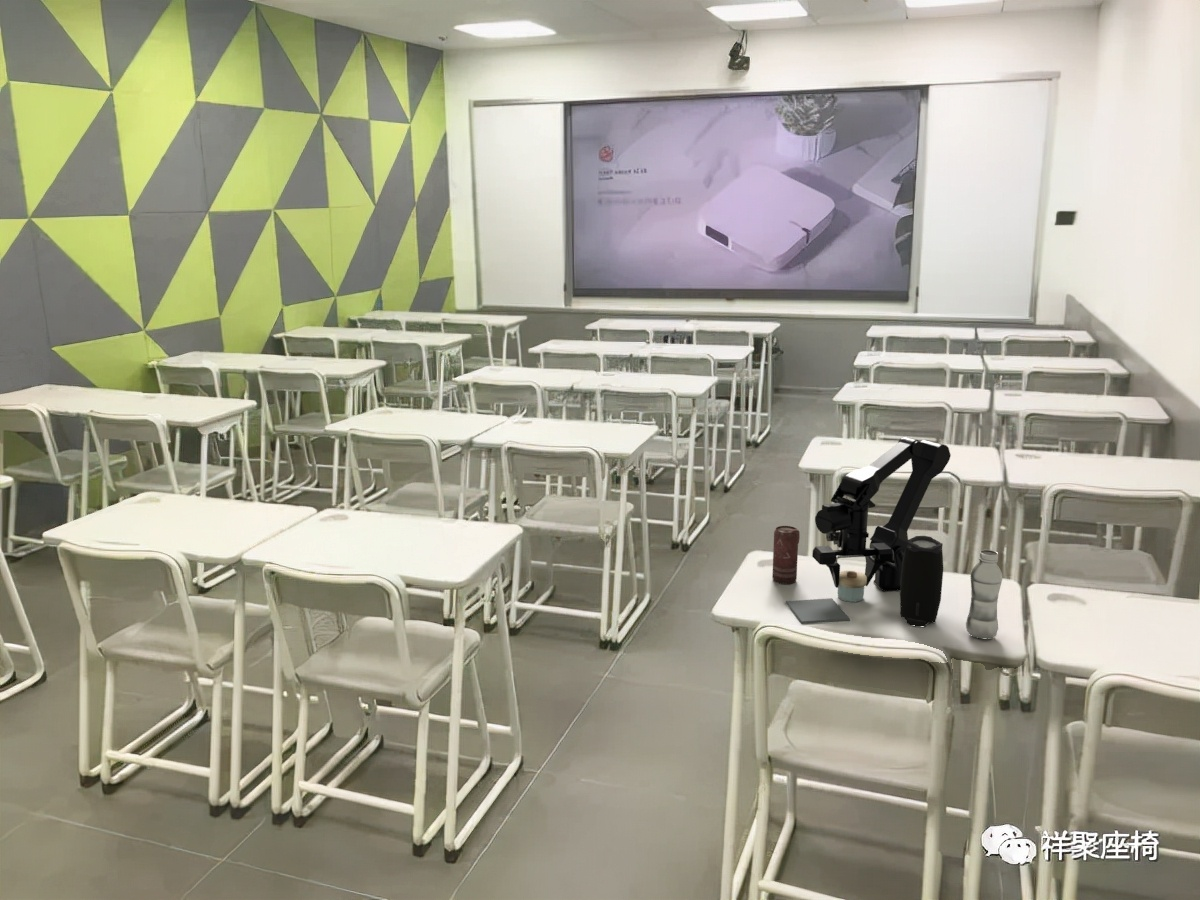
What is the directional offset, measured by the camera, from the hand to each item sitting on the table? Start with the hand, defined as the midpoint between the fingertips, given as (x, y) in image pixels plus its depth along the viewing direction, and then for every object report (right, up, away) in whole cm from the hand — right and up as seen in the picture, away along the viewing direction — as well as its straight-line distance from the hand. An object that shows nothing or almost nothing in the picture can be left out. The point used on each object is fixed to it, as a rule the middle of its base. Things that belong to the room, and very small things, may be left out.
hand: (851, 586), depth 232 cm
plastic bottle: (+23, -8, -21) cm, 32 cm away
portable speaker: (+12, -6, -12) cm, 19 cm away
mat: (-10, -5, -7) cm, 13 cm away
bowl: (0, -3, +1) cm, 3 cm away
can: (-14, 0, +12) cm, 18 cm away
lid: (0, +1, 0) cm, 1 cm away
